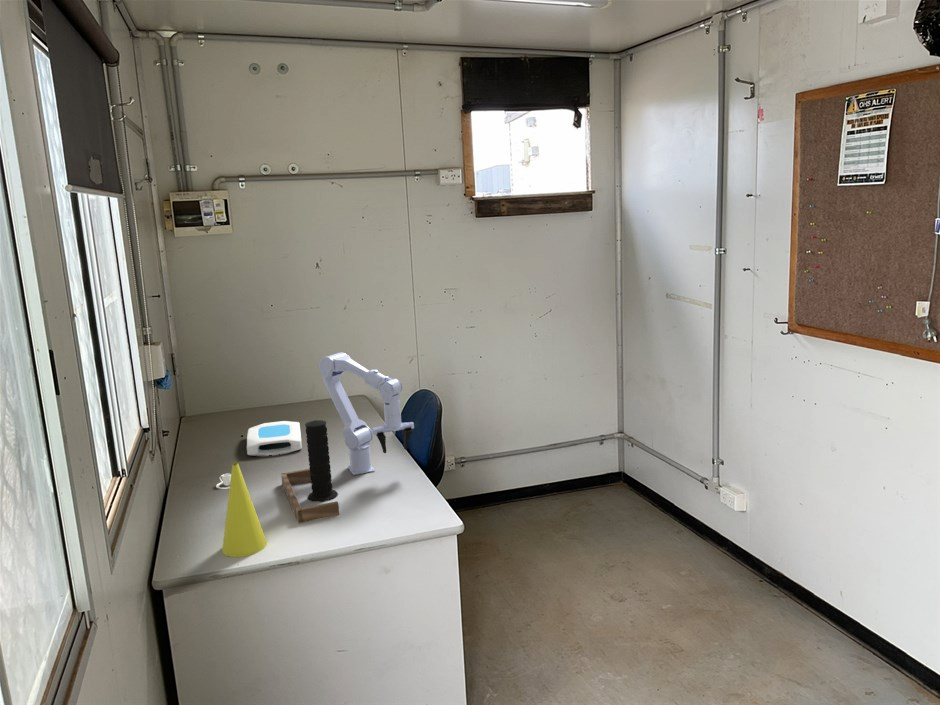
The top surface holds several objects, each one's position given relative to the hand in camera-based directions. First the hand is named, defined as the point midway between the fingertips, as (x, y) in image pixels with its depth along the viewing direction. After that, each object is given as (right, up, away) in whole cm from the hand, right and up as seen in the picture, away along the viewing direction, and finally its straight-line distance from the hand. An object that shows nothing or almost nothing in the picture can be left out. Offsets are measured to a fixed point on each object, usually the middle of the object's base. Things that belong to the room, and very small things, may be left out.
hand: (395, 450), depth 253 cm
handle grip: (-23, -14, -14) cm, 30 cm away
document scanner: (-54, -4, +44) cm, 70 cm away
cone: (-38, -21, -48) cm, 65 cm away
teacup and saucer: (-58, -13, -1) cm, 60 cm away
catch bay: (-27, -14, -15) cm, 34 cm away
